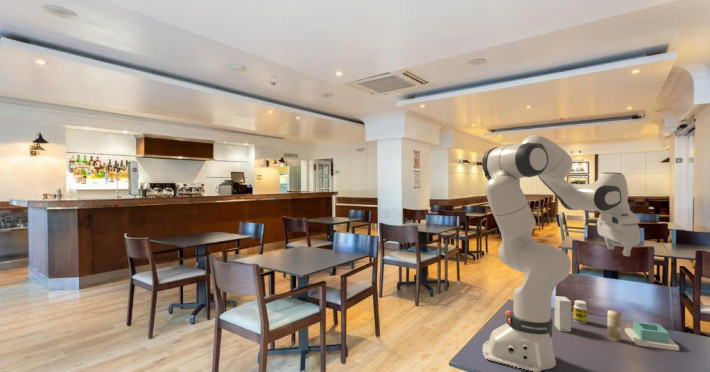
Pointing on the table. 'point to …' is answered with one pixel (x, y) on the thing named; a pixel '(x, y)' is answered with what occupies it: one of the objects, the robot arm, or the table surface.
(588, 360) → the table surface
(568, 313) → the skincare box
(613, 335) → the maple peg
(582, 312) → the supplement bottle
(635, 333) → the socket block
